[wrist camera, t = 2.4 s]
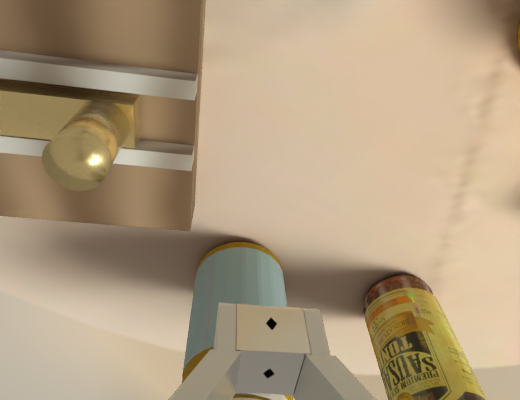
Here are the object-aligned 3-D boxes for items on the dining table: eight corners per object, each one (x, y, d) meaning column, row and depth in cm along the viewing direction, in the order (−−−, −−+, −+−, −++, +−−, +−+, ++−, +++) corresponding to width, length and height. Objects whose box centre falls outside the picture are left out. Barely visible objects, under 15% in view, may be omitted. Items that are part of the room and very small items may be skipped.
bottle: (179, 266, 33) (141, 470, 20) (245, 222, 31) (249, 420, 18) (234, 310, 36) (231, 510, 23) (298, 273, 34) (332, 472, 21)
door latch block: (208, -46, 21) (196, -41, 16) (194, 206, 30) (184, 264, 24) (-220, -112, 19) (-399, -131, 14) (-100, 180, 27) (-181, 238, 22)
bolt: (139, 93, 21) (108, 140, 16) (141, 137, 23) (112, 193, 18) (-40, 72, 20) (-132, 116, 15) (-28, 119, 22) (-107, 174, 17)
